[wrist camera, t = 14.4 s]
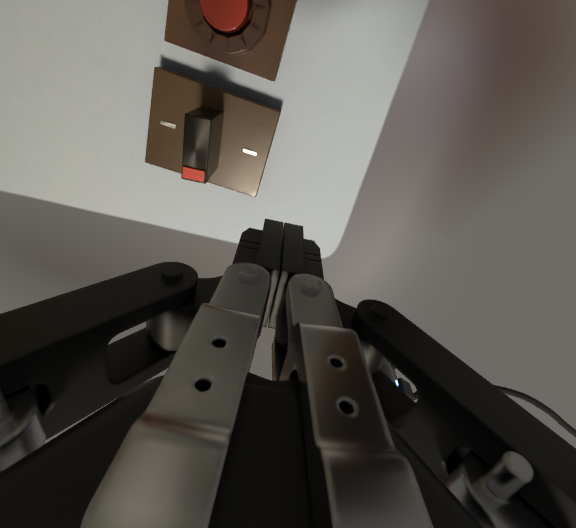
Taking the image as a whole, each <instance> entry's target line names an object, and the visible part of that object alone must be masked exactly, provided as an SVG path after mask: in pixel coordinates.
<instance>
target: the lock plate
mask: <svg viewBox="0 0 576 528" xmlns="http://www.w3.org/2000/svg"><path fill="white" fill-rule="evenodd" d="M201 106H202V107H206V108H210V109H215V110H219V111H223V112H224V114H223V123H222V133H221V142H220V151H219V160H218V168H217V169H216V170H215V172H214V173H213V174H212V176H211V177H210V178H209V180H208V181H207V182H209V183H213V184H216V185H219V186H222V187H225V188H228V189H231V190H235V191H238V192H241V193H244V194H247V195H250V196H254V197H256V195H257V192H258V188H259V185H260V182H261V178H262V175H263V171H264V168H265V164H266V161H267V157H268V154H269V151H270V147H271V144H272V140H273V137H274V133H275V130H276V126H277V123H278V120H279V116H280V113H281V110H280V109H278V108H275V107H272V106H269V105H267V104H264V103H261V102H258V101H255V100H253V99H250V98H247V97H244V96H242V95H239V94H236V93H233V92H231V91H228V90H225V89H222V88H220V87H217V86H214V85H211V84H209V83H206V82H203V81H200V80H197V79H195V78H192V77H189V76H186V75H184V74H181V73H178V72H175V71H173V70H170V69H167V68H164V67H155V69H154V79H153V88H152V98H151V108H150V118H149V128H148V138H147V148H146V158H145V162H146V163H149V164H153V165H156V166H159V167H162V168H165V169H168V170H172V171H175V172H178V173H181V174H182V158H183V138H184V119H185V113H188V112H190V111H192V110H194V109H197V108H199V107H201Z"/></svg>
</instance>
